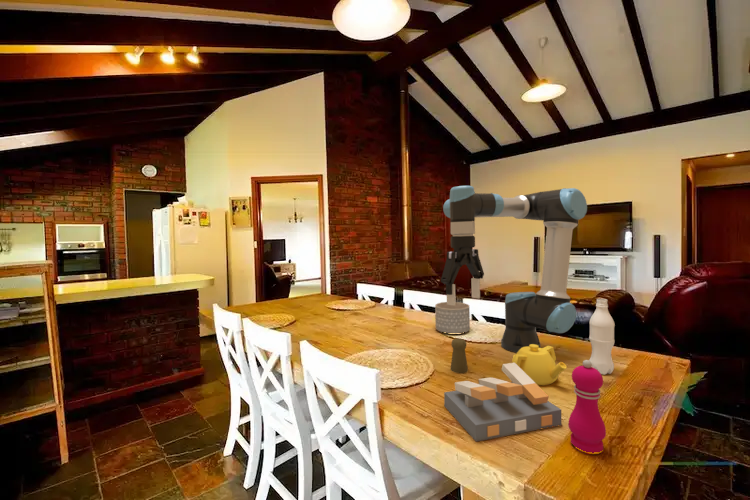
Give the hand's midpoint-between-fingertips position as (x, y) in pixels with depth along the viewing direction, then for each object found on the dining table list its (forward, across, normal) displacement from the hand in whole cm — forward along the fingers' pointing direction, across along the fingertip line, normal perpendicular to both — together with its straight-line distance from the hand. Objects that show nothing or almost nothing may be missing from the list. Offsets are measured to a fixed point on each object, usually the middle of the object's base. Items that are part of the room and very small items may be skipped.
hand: (464, 301), depth 110 cm
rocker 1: (+19, +17, +14) cm, 29 cm away
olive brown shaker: (+27, -7, -7) cm, 29 cm away
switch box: (+27, +10, +18) cm, 34 cm away
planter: (+27, -44, -37) cm, 64 cm away
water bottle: (+27, -40, +27) cm, 55 cm away
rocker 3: (+19, +4, +21) cm, 28 cm away
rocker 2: (+19, +10, +18) cm, 28 cm away
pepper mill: (+27, +8, +38) cm, 47 cm away
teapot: (+27, -19, +16) cm, 37 cm away
